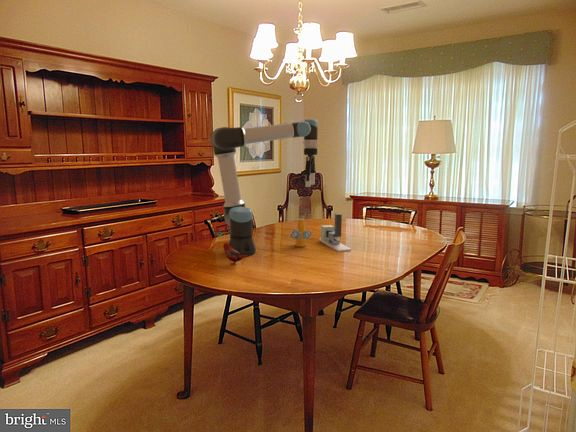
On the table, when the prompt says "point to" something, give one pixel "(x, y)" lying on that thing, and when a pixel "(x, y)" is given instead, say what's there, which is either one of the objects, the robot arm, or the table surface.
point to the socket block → (323, 231)
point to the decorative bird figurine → (232, 254)
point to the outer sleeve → (332, 239)
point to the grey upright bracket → (337, 227)
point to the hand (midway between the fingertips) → (310, 185)
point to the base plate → (336, 246)
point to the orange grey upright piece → (301, 233)
